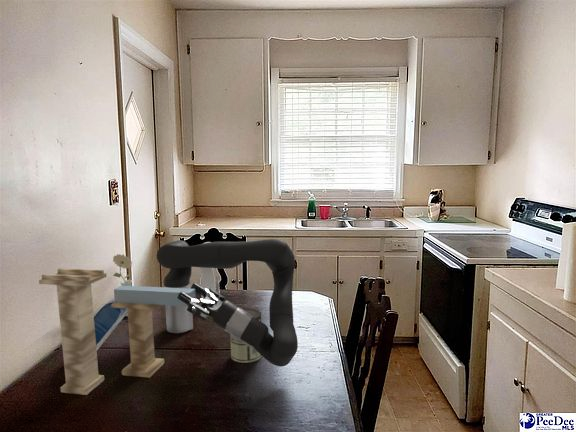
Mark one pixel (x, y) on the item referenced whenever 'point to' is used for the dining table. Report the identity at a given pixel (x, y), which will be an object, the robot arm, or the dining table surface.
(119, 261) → the flower in vase
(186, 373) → the dining table surface
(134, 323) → the short wooden pedestal
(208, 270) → the skyscraper
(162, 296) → the bar
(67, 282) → the tall stand
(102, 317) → the blue food package
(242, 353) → the coffee can
